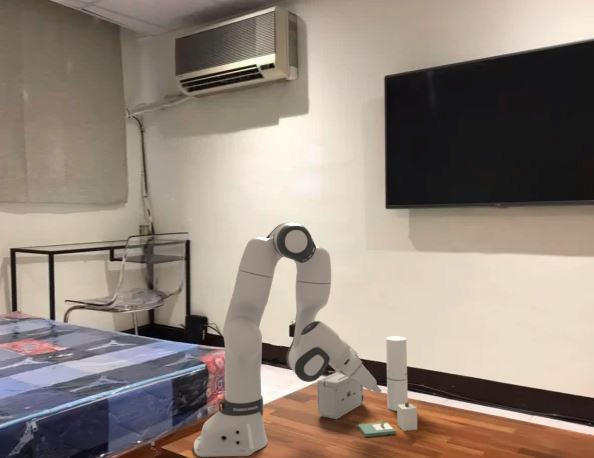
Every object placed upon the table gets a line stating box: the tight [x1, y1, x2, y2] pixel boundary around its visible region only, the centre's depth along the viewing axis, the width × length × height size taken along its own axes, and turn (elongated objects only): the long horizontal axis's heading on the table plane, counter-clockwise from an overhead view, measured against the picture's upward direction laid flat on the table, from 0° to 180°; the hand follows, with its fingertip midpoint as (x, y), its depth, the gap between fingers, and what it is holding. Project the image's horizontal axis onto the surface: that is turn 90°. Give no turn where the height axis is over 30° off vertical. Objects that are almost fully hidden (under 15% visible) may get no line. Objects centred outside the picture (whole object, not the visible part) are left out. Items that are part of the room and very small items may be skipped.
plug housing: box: [396, 402, 418, 432], centre depth 178 cm, size 5×5×8 cm
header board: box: [357, 418, 397, 438], centre depth 176 cm, size 10×8×3 cm
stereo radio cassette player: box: [316, 371, 364, 420], centre depth 195 cm, size 21×8×20 cm, turn 144°
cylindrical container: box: [385, 335, 409, 412], centre depth 197 cm, size 7×7×25 cm
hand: (374, 387), depth 176 cm, fingers open, 8 cm apart
